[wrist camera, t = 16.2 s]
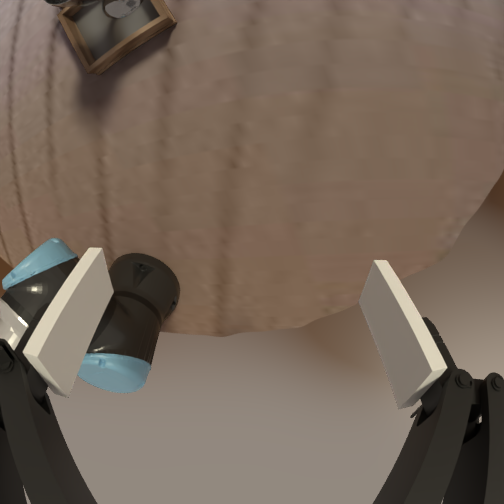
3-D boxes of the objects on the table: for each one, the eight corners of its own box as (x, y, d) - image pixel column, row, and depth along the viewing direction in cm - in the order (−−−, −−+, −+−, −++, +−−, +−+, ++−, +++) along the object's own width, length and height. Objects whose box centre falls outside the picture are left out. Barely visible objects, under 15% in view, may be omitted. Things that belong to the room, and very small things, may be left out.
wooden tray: (99, 74, 32) (79, 75, 27) (60, 1, 23) (40, -4, 18) (177, 22, 29) (166, 14, 24) (129, -50, 19) (115, -63, 14)
